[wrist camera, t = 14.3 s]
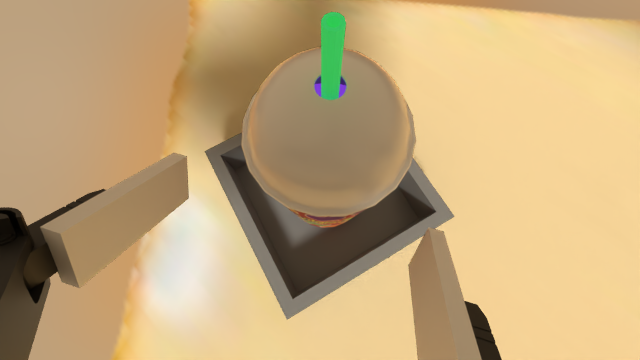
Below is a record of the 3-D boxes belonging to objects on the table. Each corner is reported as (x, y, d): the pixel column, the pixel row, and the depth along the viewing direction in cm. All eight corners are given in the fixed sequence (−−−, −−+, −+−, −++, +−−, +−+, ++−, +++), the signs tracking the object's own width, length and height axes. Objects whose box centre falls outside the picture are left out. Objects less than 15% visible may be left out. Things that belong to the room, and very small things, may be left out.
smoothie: (298, 251, 25) (219, 230, 6) (270, 169, 27) (144, -46, 8) (382, 218, 26) (563, 103, 6) (348, 141, 28) (409, -118, 9)
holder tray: (430, 223, 27) (454, 216, 22) (293, 307, 25) (287, 319, 20) (349, 104, 30) (354, 75, 25) (224, 169, 28) (204, 151, 23)
